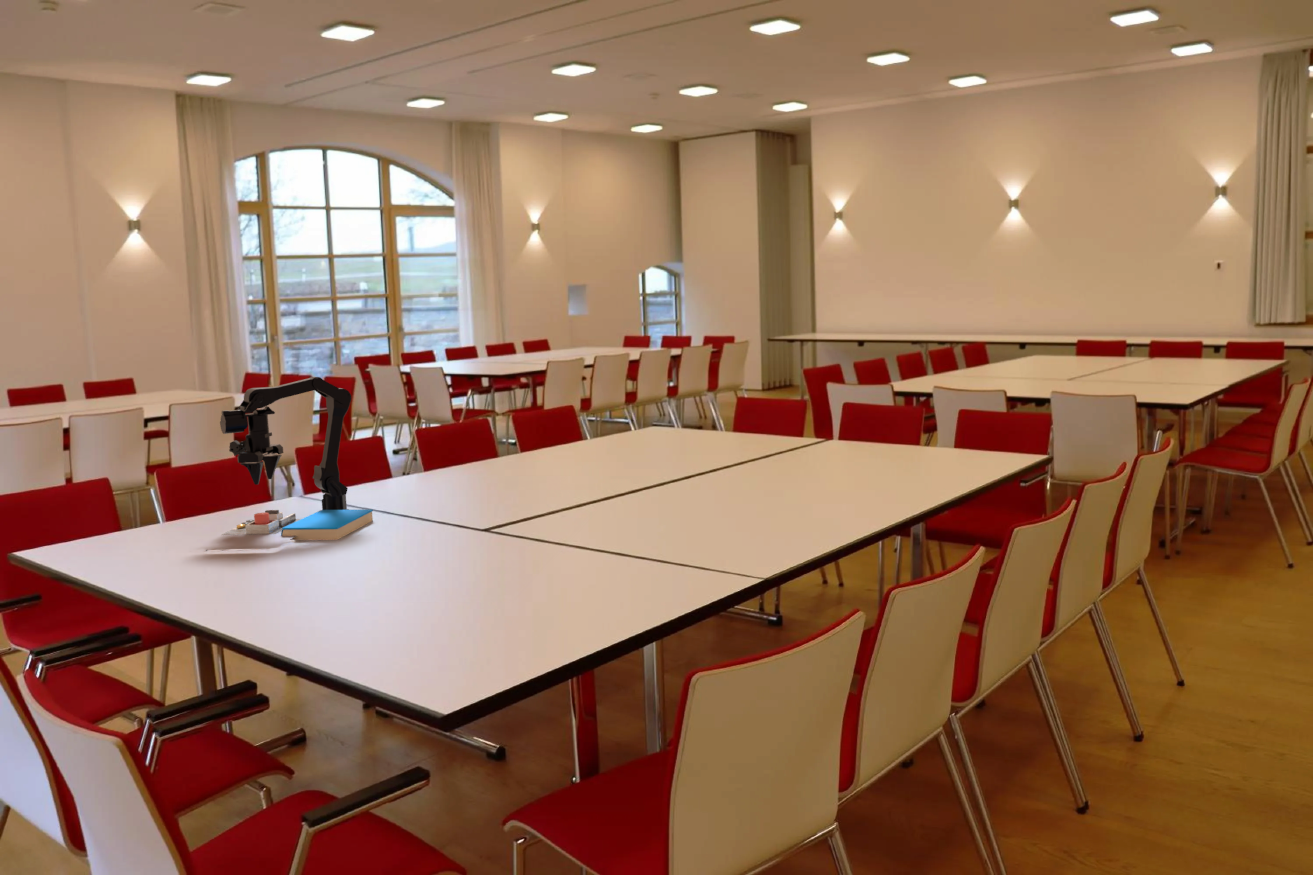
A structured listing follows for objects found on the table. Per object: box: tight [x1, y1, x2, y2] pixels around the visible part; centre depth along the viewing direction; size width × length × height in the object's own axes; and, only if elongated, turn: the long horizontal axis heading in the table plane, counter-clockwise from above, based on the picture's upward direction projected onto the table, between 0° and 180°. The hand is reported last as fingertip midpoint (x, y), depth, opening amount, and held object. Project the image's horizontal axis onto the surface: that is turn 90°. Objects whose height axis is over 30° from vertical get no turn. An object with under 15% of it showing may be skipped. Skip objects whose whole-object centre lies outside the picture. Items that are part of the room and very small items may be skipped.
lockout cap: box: [253, 511, 270, 525], centre depth 311 cm, size 4×4×5 cm
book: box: [280, 508, 374, 541], centre depth 315 cm, size 17×4×25 cm
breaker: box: [264, 509, 284, 520], centre depth 318 cm, size 4×4×4 cm
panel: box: [221, 512, 302, 536], centre depth 317 cm, size 16×20×4 cm
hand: (263, 481), depth 325 cm, fingers open, 9 cm apart
